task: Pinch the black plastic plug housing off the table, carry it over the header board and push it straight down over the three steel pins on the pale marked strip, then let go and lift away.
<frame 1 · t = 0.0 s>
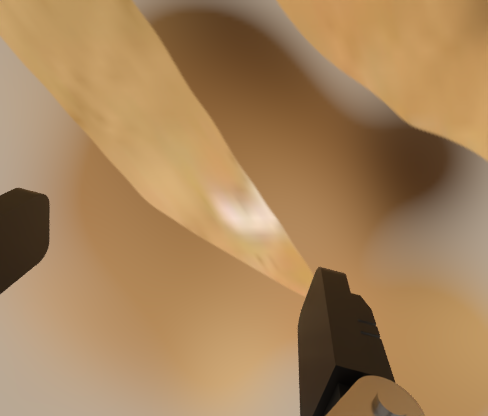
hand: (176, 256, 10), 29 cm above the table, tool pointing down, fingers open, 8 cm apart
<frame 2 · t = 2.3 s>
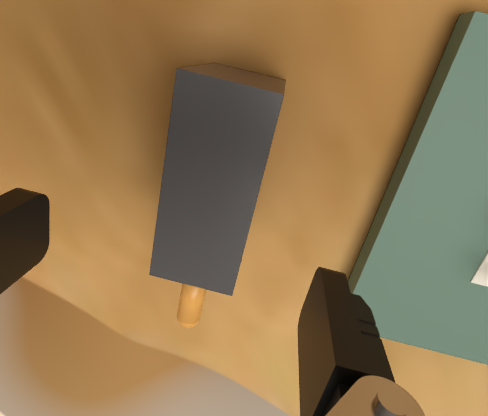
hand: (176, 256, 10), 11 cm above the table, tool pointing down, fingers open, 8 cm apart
plug housing: (233, 151, 20), on the table
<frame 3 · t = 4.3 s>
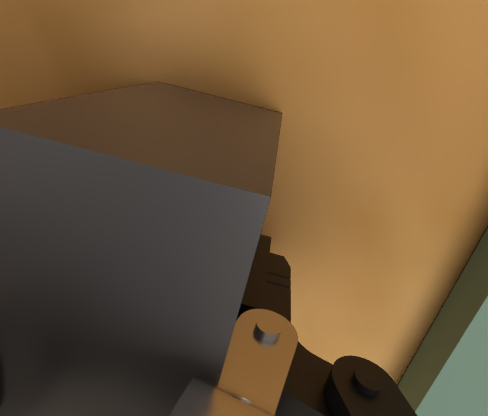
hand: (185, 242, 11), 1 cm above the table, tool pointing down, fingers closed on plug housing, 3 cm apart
plug housing: (195, 226, 12), on the table, touching gripper
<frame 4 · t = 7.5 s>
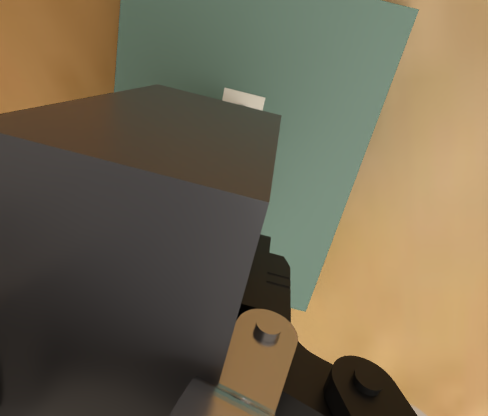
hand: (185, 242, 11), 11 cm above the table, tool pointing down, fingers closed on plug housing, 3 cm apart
plug housing: (194, 228, 12), point 10 cm above the table, touching gripper
header board: (234, 151, 22), on the table
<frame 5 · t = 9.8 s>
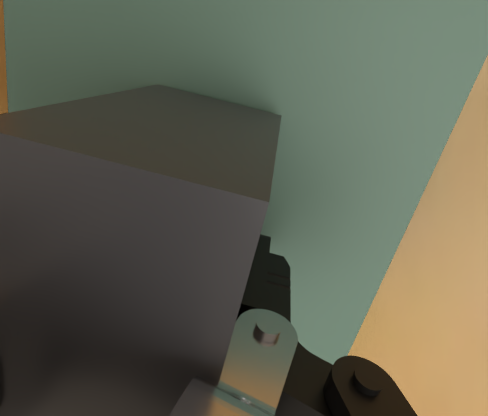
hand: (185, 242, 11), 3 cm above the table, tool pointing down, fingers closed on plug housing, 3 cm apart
plug housing: (194, 228, 12), point 2 cm above the table, touching gripper
header board: (206, 202, 14), on the table
when the fingers open (3 cm above the table, at t = 11.1 s): plug housing stays where it is, resting on header board.
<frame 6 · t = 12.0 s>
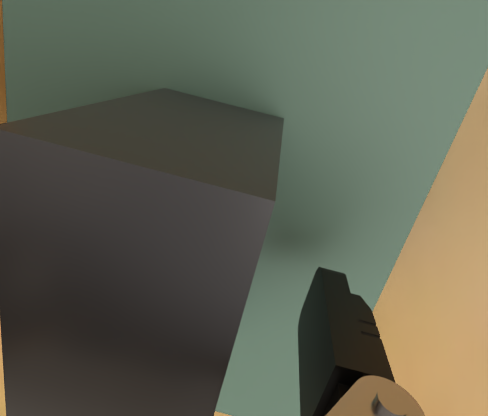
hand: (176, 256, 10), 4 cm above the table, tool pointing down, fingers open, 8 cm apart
plug housing: (199, 227, 13), point 1 cm above the table, touching header board
header board: (206, 208, 14), on the table
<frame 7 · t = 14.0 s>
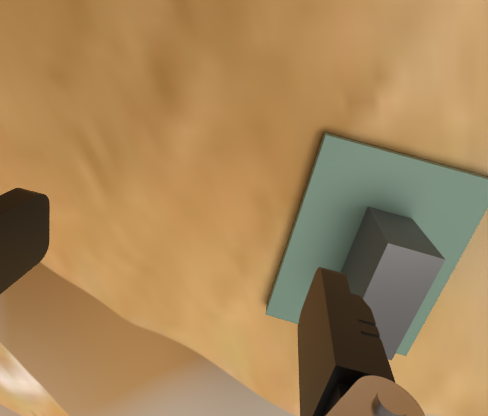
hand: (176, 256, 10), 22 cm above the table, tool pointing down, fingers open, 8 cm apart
plug housing: (370, 257, 31), point 1 cm above the table, touching header board
header board: (366, 248, 33), on the table
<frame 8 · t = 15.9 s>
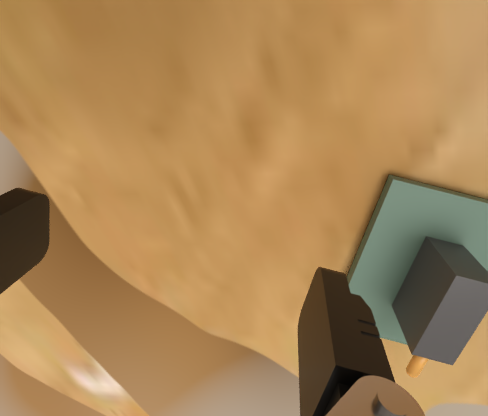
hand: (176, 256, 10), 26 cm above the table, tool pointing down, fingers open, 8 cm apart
plug housing: (425, 277, 37), point 1 cm above the table, touching header board
header board: (420, 268, 38), on the table
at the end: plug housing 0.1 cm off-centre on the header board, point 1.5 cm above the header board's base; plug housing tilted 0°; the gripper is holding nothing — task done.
